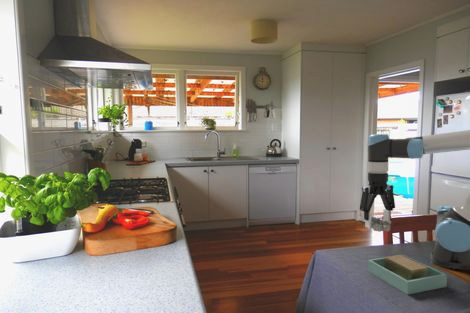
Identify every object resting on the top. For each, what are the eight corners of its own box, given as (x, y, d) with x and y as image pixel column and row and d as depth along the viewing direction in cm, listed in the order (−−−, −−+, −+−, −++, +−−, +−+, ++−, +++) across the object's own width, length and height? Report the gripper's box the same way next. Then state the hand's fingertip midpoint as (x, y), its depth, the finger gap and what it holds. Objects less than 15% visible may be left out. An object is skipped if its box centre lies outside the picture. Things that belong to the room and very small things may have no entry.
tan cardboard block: (399, 269, 121) (400, 254, 120) (427, 284, 109) (427, 267, 109) (384, 272, 119) (384, 256, 118) (410, 287, 107) (411, 270, 107)
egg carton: (392, 231, 125) (393, 221, 125) (373, 232, 125) (374, 222, 125) (380, 223, 136) (380, 214, 136) (363, 224, 136) (363, 214, 136)
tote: (402, 266, 125) (403, 254, 125) (446, 288, 107) (446, 274, 107) (367, 272, 120) (367, 259, 120) (407, 296, 103) (407, 282, 102)
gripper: (392, 169, 136) (391, 221, 137) (350, 172, 130) (349, 226, 131) (406, 171, 128) (405, 226, 130) (362, 174, 122) (361, 232, 124)
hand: (377, 226), depth 131 cm, fingers closed on egg carton, 8 cm apart
